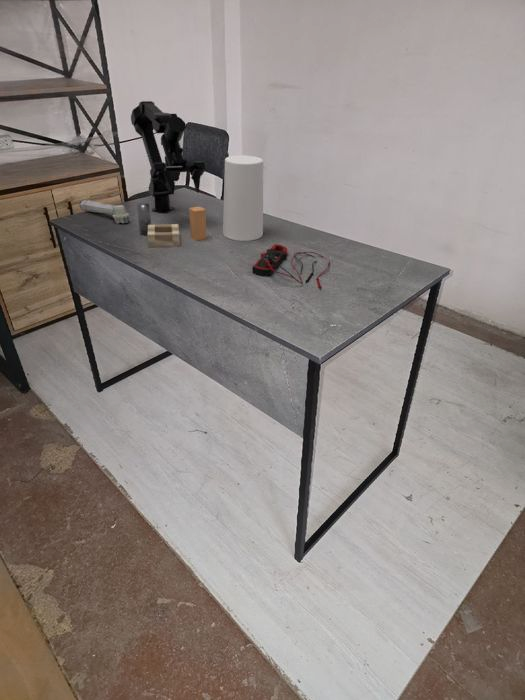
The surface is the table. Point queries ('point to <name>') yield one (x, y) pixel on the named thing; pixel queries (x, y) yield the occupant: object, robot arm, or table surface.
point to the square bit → (198, 223)
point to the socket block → (163, 235)
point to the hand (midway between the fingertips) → (185, 193)
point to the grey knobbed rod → (106, 210)
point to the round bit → (144, 217)
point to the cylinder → (243, 198)
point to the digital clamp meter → (273, 260)
